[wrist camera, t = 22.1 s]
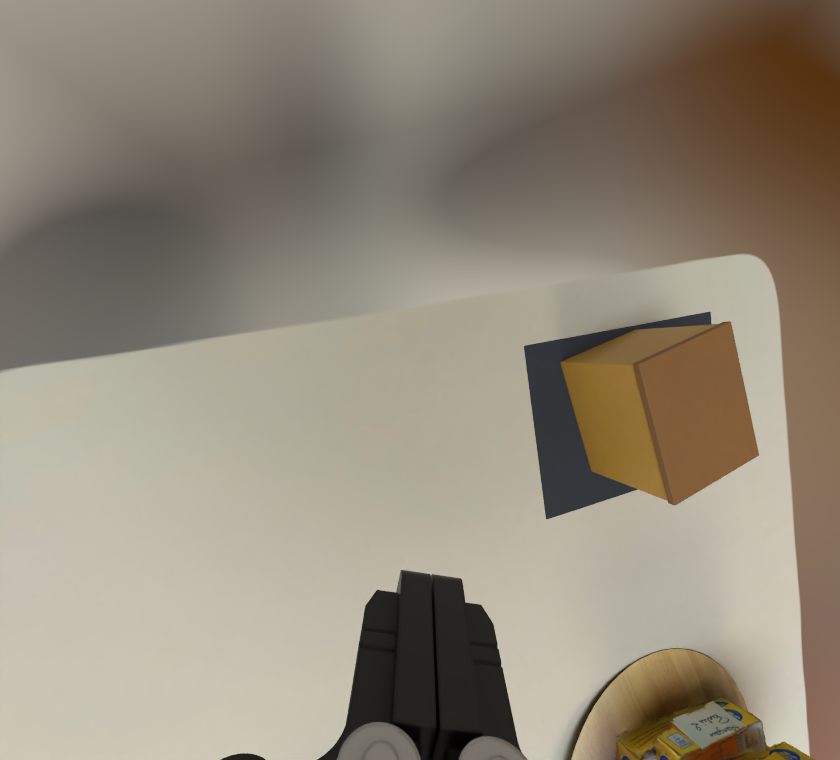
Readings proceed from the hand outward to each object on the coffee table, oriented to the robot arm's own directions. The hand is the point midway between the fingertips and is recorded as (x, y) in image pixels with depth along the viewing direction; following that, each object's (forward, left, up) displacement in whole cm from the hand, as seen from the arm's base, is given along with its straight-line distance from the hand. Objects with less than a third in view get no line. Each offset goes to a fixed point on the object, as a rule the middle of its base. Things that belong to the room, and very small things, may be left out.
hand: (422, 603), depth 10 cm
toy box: (+3, +26, -23) cm, 35 cm away
